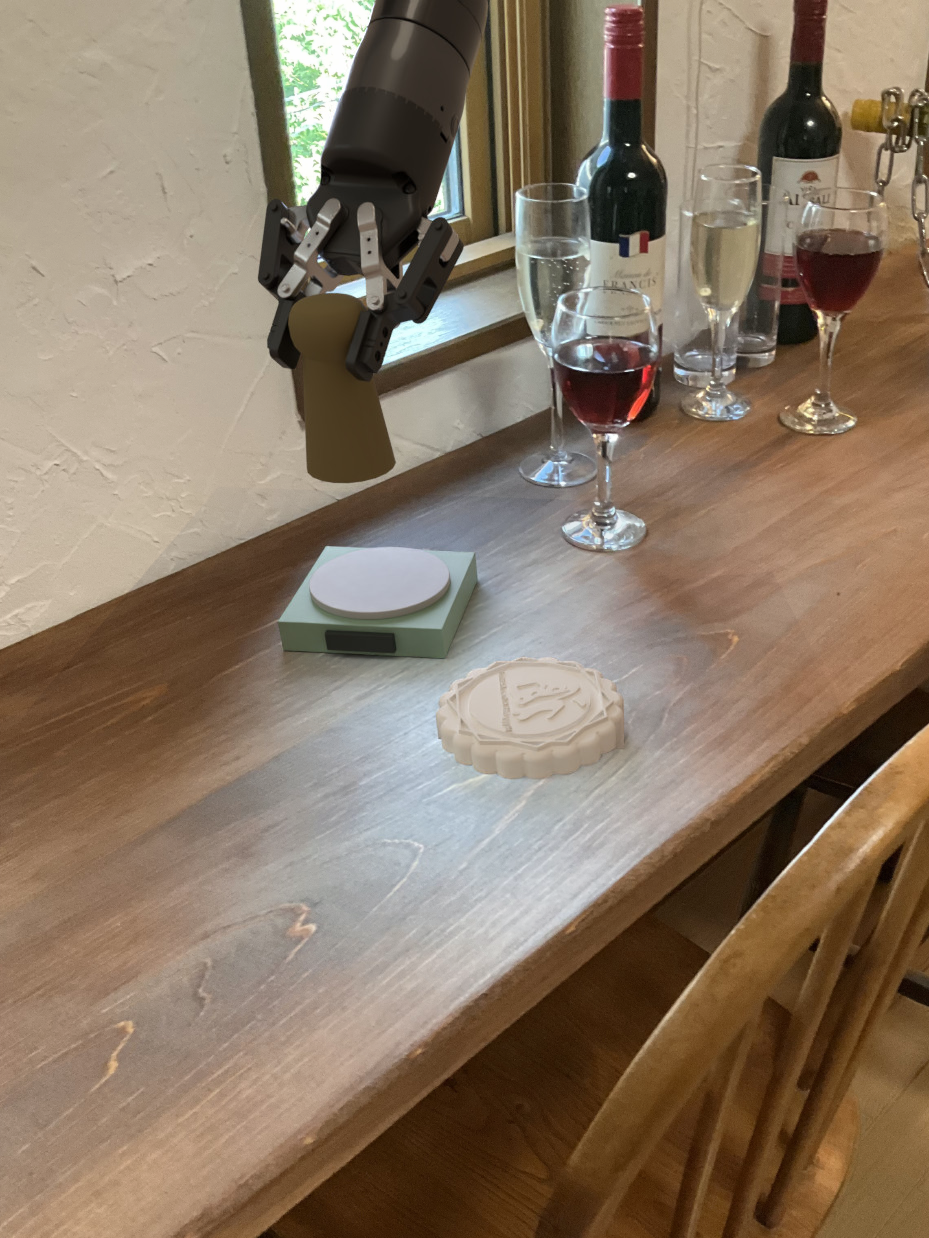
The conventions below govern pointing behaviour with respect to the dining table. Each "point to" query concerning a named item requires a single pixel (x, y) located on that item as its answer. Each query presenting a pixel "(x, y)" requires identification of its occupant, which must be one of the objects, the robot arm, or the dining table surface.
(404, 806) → the dining table surface
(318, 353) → the cork
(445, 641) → the scale
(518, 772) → the mooncake
